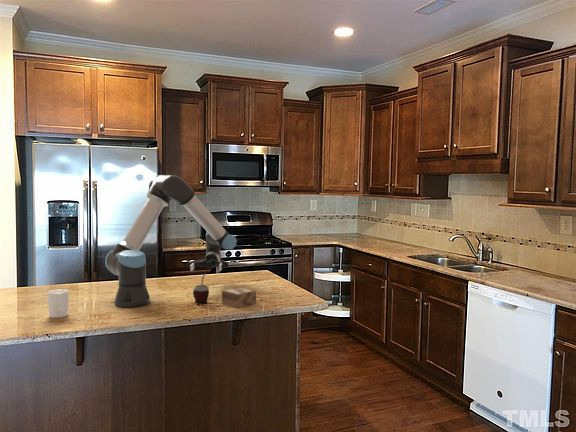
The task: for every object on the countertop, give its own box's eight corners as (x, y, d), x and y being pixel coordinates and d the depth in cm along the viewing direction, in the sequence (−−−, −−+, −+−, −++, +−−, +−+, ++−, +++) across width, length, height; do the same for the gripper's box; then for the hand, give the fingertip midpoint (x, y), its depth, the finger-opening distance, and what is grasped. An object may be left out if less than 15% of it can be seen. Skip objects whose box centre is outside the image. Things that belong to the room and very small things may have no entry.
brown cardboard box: (237, 308, 204) (237, 294, 204) (221, 303, 211) (221, 290, 211) (256, 304, 212) (256, 290, 212) (240, 299, 220) (240, 286, 219)
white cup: (72, 313, 193) (72, 289, 192) (64, 318, 185) (63, 293, 184) (53, 312, 193) (52, 289, 192) (44, 318, 185) (43, 293, 184)
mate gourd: (198, 301, 216) (198, 269, 215) (213, 302, 213) (213, 270, 212) (189, 304, 209) (189, 272, 208) (205, 306, 206) (205, 273, 205)
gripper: (235, 267, 242) (231, 275, 221) (187, 267, 241) (179, 276, 220) (235, 253, 241) (231, 260, 220) (186, 253, 240) (178, 260, 219)
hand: (205, 268), depth 220 cm, fingers open, 13 cm apart
